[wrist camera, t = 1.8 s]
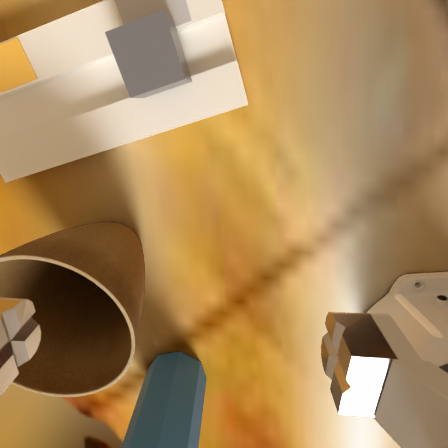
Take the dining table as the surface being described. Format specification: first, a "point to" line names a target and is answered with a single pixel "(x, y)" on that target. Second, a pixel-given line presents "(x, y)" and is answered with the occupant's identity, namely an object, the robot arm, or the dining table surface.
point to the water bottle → (169, 404)
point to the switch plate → (105, 84)
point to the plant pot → (79, 306)
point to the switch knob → (149, 55)
